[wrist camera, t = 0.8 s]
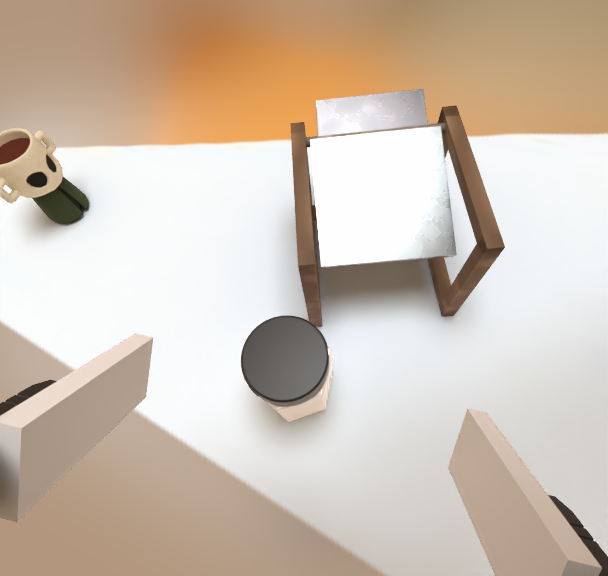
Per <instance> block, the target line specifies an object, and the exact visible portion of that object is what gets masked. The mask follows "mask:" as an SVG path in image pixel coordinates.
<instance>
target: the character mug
mask: <svg viewBox="0 0 608 576" xmlns="http://www.w3.org/2000/svg"><path fill="white" fill-rule="evenodd" d="M41 140H42V141H43V142H44V143H45V144H46V145H47V147H45V146H44V145H43V144H42V143H41V142H40V141H41ZM55 149H56V146H55V144H54V143H53V142H52V140H51V139H50V138H49V137H48V136H47V135H46V134H45V133H44V132H43V131H41V130H39V131H38V132H36V133H35V134H34V135H33V134H32V133H31V132H30V131H28V130H25V129H23V128H12V129H8V130H4V131H2V132H0V196H1V197H2V198H3V199H4V200H6V201H7V202H9V203H13V202H15V201H16V200H17V198H18V197H19V196H20V195H21V196H24V197H28V198H33V200H34V201H35V202H36V203H37V204H38V206H39V207H40V208H41V209H42V210H43V212H44V213H45V214H46V215H47V216H48V217H49V218H50V219H51V220H53V221H55V222H58V223H69V222H72V221H75V220H76V219H78V218H79V217H80V216H82V215H83V213H82V212H81V211H80V210H79V208H80V205H82V206H83V207H85V208H87V207H88V199H87V197H86V196H85V194H84V193H82V192H81V191H80V190H79V189H78V188H77V187H76V186H74V185H73V184H72V183H70V182H69V181H68V180H67V179H65V178H64V177H63V174H62V167H61V165H60V163H59V161H58V160H57V159H56V158H55V157H54V156H53V155H52V153H53V152H54V151H55ZM5 184H6V185H7V186H8V187H9V188H10V189H12V191H11V193H10V194H8V193H7V192H6V191H5V190H4V189H3V187H4V185H5Z"/></svg>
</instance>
